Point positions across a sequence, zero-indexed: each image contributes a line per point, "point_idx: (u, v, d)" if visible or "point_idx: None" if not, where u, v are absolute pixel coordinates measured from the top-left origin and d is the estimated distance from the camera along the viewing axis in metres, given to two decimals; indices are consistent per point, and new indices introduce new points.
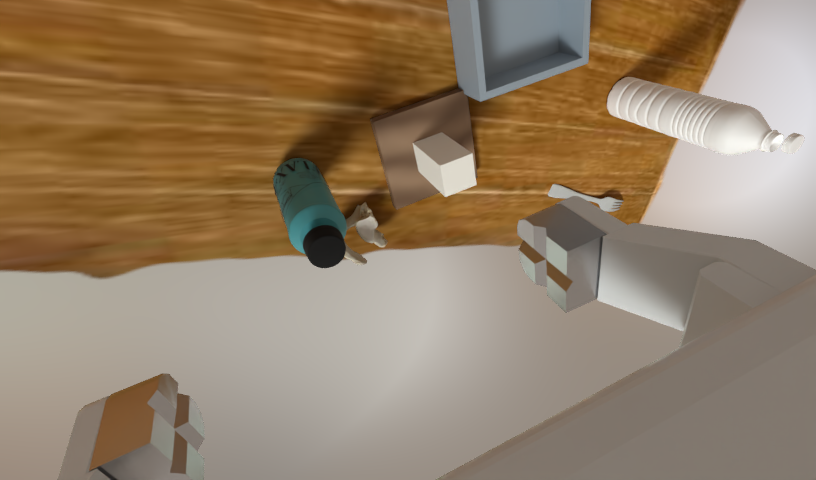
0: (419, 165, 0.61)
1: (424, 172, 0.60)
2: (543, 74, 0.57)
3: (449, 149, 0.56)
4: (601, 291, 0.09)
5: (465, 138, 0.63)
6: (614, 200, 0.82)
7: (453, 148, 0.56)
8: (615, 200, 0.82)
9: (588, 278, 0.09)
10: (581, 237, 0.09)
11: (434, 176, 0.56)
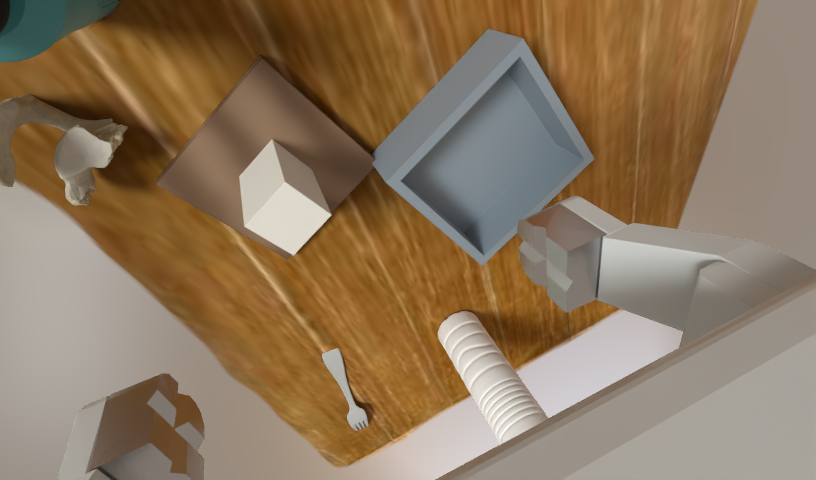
0: (249, 169, 0.37)
1: (247, 181, 0.36)
2: (450, 230, 0.45)
3: (308, 185, 0.35)
4: (601, 291, 0.09)
5: None
6: (365, 418, 0.64)
7: (313, 189, 0.35)
8: (365, 419, 0.65)
9: (588, 278, 0.09)
10: (581, 237, 0.09)
11: (258, 192, 0.33)
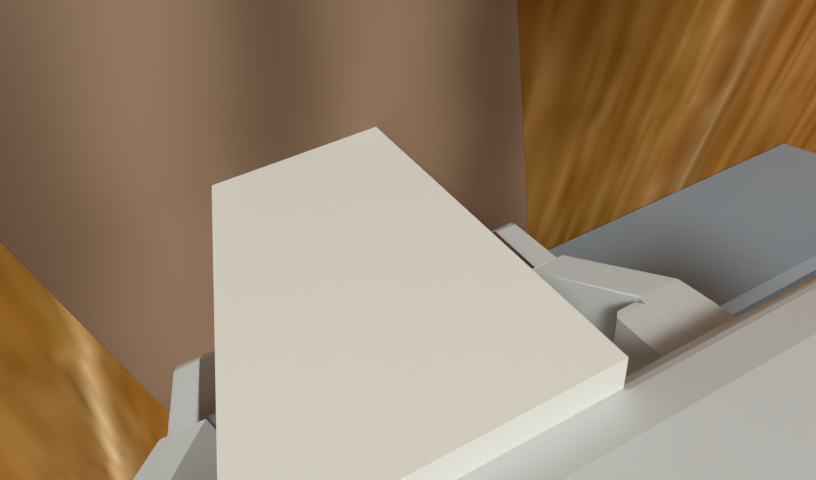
0: (269, 180, 0.10)
1: (257, 218, 0.09)
2: None
3: None
4: None
5: None
6: None
7: None
8: None
9: None
10: None
11: (343, 306, 0.06)
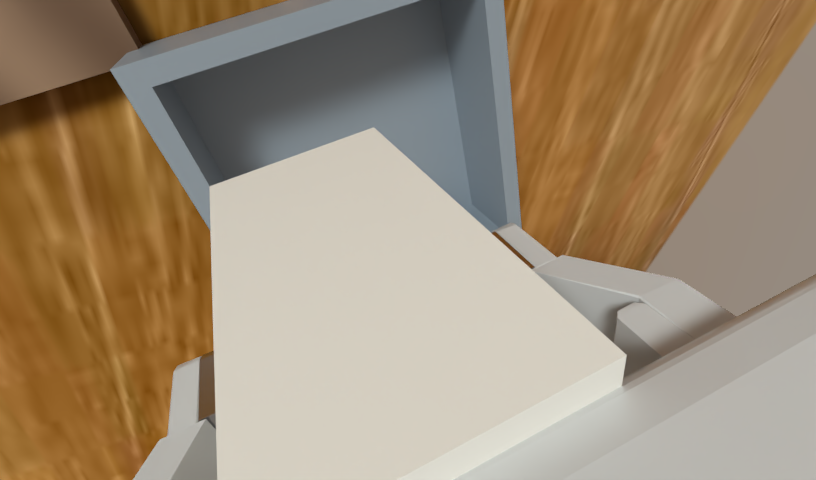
0: (267, 181, 0.10)
1: (256, 218, 0.09)
2: None
3: None
4: None
5: None
6: None
7: None
8: None
9: None
10: None
11: (342, 306, 0.06)
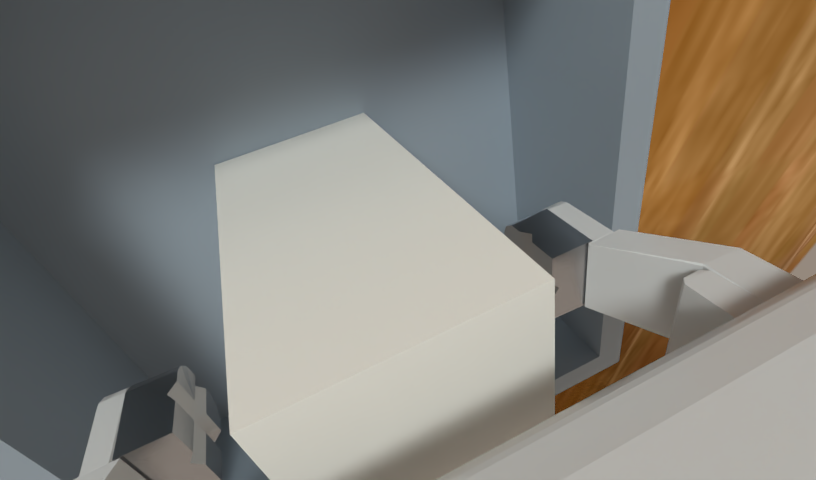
0: (266, 159, 0.12)
1: (256, 190, 0.10)
2: None
3: None
4: (587, 297, 0.09)
5: None
6: None
7: None
8: None
9: (574, 284, 0.09)
10: (567, 243, 0.09)
11: (329, 253, 0.07)
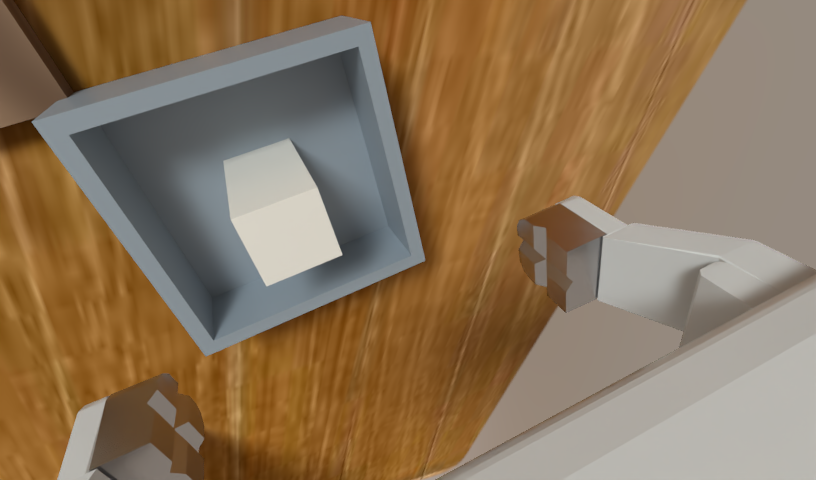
0: (245, 158, 0.28)
1: (240, 169, 0.27)
2: (158, 274, 0.25)
3: None
4: (601, 290, 0.09)
5: None
6: None
7: None
8: None
9: (588, 278, 0.09)
10: (581, 237, 0.09)
11: (261, 186, 0.24)
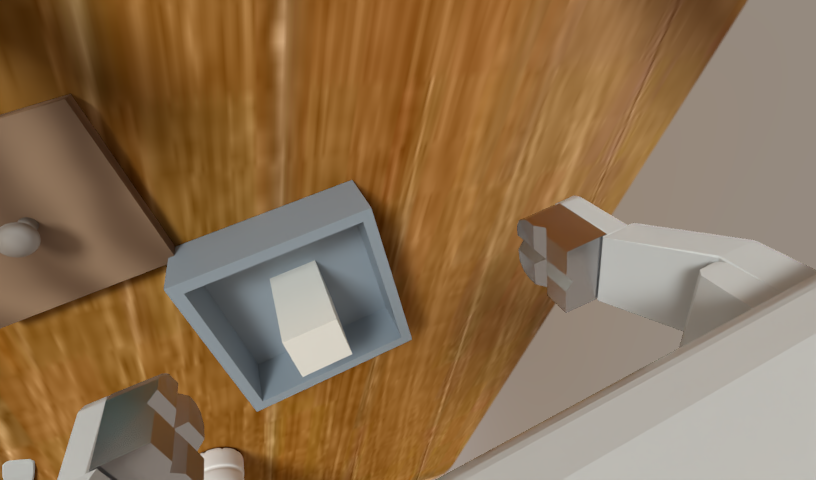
0: (285, 278, 0.40)
1: (283, 290, 0.39)
2: (229, 364, 0.38)
3: (338, 318, 0.39)
4: (601, 290, 0.09)
5: (82, 282, 0.34)
6: None
7: (340, 322, 0.39)
8: None
9: (588, 278, 0.09)
10: (581, 237, 0.09)
11: (299, 311, 0.36)
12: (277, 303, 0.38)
